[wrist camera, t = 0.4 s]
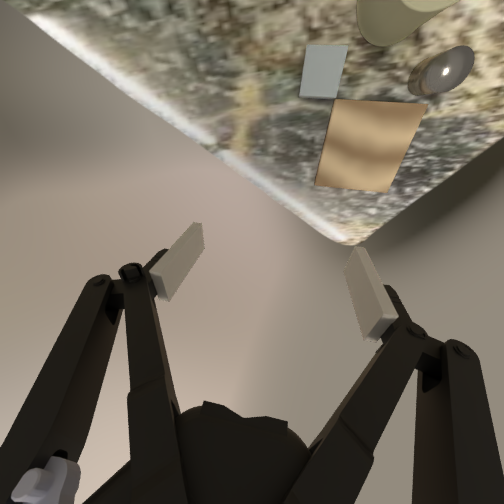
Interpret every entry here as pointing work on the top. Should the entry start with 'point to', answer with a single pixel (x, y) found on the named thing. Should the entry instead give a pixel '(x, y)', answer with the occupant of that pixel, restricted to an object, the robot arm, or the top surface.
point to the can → (395, 18)
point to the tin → (441, 71)
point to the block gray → (322, 71)
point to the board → (366, 143)
